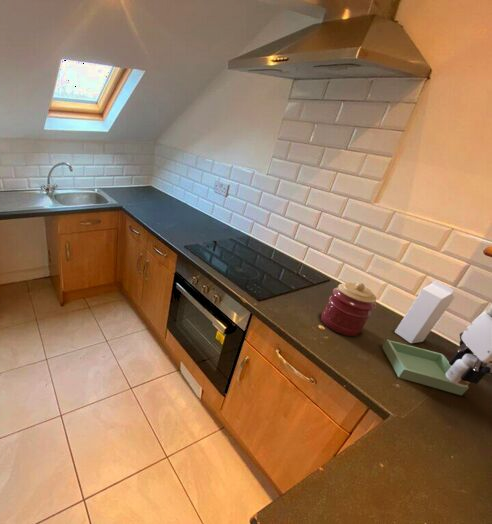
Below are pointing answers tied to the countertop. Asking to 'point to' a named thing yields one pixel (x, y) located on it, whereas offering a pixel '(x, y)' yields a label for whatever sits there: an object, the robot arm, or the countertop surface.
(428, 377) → the tray
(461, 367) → the pill bottle
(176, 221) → the countertop surface
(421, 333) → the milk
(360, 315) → the kitchen canister
